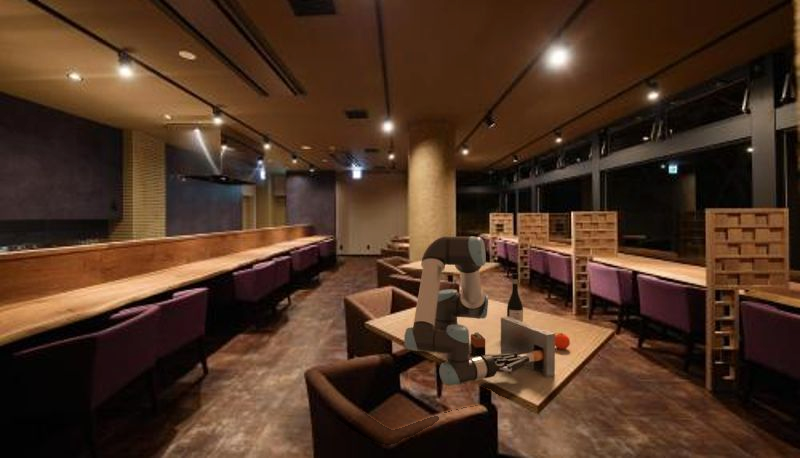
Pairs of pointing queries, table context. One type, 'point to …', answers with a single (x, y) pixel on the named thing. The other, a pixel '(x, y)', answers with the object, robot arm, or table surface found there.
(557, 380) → the table surface
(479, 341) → the battery
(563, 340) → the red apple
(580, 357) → the table surface
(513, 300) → the wine bottle
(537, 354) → the orange rounded cylinder
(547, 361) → the panel
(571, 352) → the table surface
